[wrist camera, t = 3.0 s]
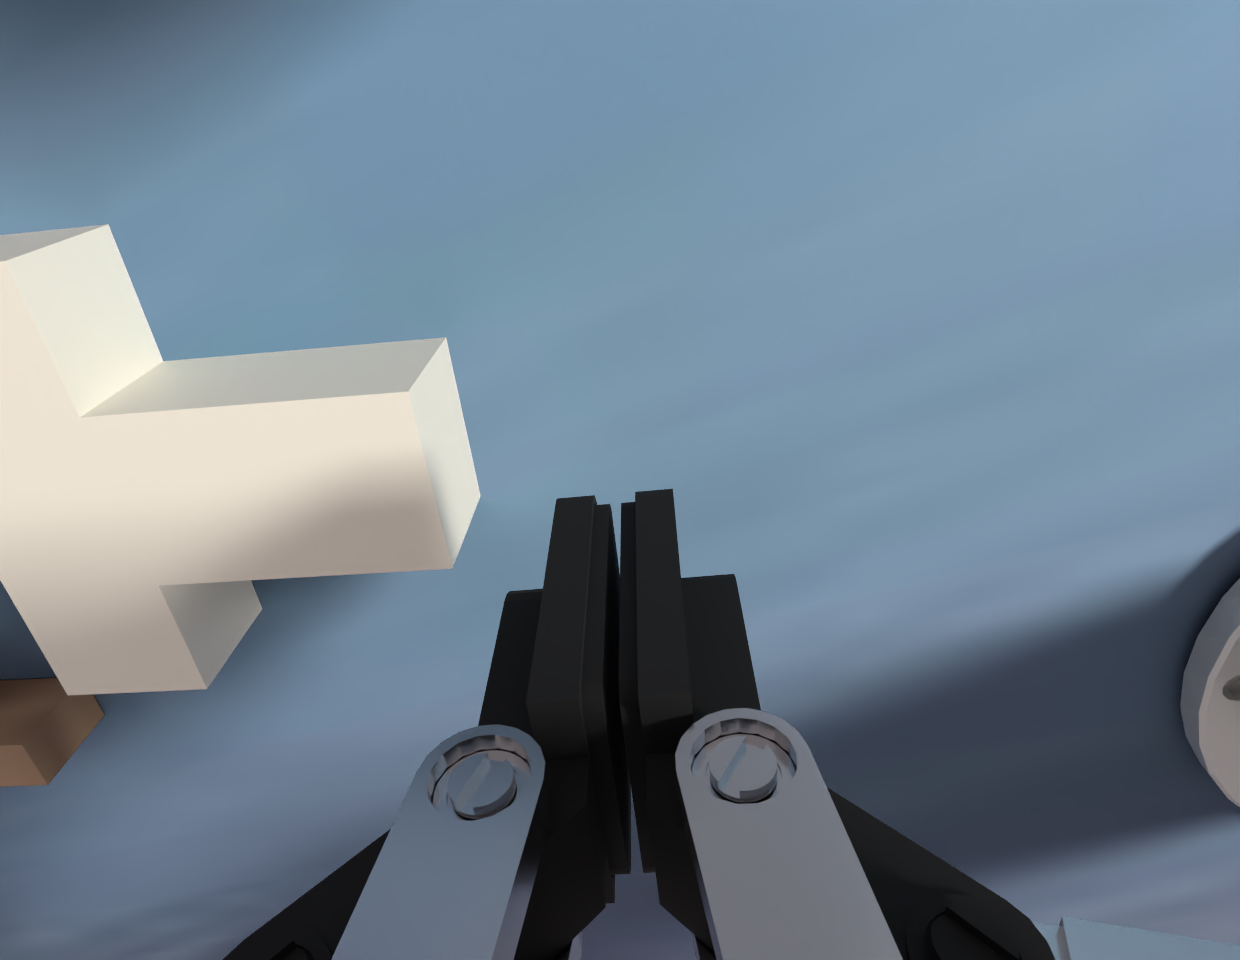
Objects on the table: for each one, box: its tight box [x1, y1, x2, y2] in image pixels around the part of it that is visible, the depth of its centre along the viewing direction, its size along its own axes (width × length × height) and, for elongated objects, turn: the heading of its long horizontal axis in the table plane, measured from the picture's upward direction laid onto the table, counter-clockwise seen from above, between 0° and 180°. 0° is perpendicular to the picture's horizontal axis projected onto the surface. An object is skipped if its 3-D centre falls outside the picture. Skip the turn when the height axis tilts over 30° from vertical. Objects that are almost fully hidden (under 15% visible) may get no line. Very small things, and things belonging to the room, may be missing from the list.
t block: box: [0, 224, 480, 695], centre depth 18 cm, size 10×10×3 cm
